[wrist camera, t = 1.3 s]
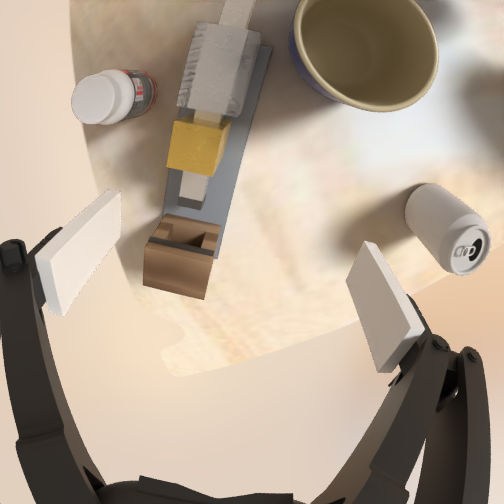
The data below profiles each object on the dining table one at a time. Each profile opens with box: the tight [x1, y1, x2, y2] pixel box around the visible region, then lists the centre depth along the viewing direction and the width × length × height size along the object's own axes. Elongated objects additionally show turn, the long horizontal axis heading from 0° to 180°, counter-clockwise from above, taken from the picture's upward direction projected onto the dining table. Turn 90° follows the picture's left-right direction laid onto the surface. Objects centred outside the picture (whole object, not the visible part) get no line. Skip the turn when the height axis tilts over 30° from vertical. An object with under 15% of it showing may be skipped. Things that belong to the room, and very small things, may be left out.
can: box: [405, 183, 491, 276], centre depth 29 cm, size 8×8×12 cm
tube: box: [166, 0, 256, 211], centre depth 24 cm, size 22×4×8 cm, turn 166°
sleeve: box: [176, 22, 261, 117], centre depth 24 cm, size 8×5×8 cm
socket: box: [143, 213, 221, 300], centre depth 34 cm, size 5×7×9 cm
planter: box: [289, 0, 439, 112], centre depth 21 cm, size 12×12×11 cm
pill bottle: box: [71, 69, 157, 125], centre depth 24 cm, size 6×6×10 cm
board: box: [162, 45, 272, 259], centre depth 32 cm, size 27×8×1 cm, turn 166°
